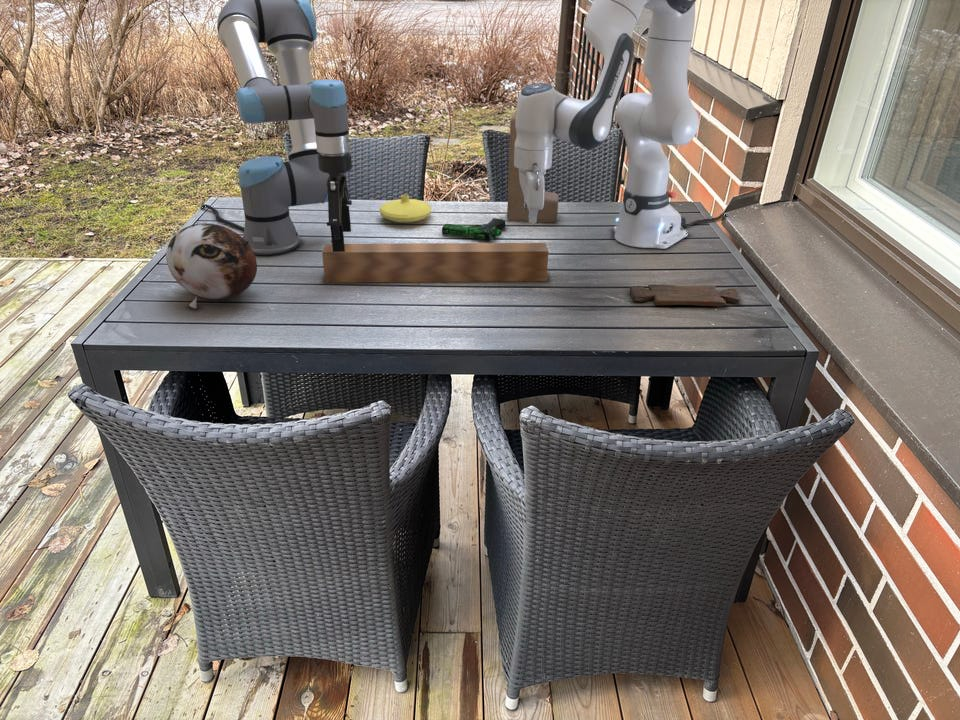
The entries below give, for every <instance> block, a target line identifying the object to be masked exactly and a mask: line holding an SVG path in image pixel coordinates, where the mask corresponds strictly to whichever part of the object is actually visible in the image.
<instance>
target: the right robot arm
mask: <svg viewBox="0 0 960 720" xmlns="http://www.w3.org/2000/svg"><path fill="white" fill-rule="evenodd" d="M696 2H697V0H593V2H592V4H591V6H590V7H589V10H588V11H587V14H586V18H585V21H584V22H585V23H584V33H585V36H586V38H587V40H588V42H589V43H590V45H591V46H592V47H593V48H594V49H595V50H596V51H597V52H598V53H599V54H600V55H602V56H603V67H602V70H601V73H600V76H599V78H598V81H597V84H596V87H595V90H594V93H593V95H592V96H591V97H590V99H589V98H588V100H583V99H579V98H575V97H572V96H568V95H566V94H563V93H561V92H559V91H558V90H556V89H555V88H554V86H553V85H552V84H550V83H547V82H537V83H531V84H528V85H526V86H524V87H523V88H521V90H520V92H519V94H518V97H517V102H516V108H515V113H516V122H515V127H516V131H517V137H516V141H515V148H514V166H515V167H516V168H518V169H519V180H520V185H521V188H522V192H523V195H524V208H525V210H529V216H528V221H527V222H529V224H532V225H533V224H537V214H538V210H542V209H543V206H544V191H545V177H544V175H546V174H547V170H549V169H551V168H552V164H553V149H554V143H553V140H555V139H557V140H560V141H562V142H565V143H569V144H572V145H574V146H576V147H579V148H581V149H582V150H586V151H591V150H595V149H597V148H598V147H600V146H601V145H602V144H604V142H606V140H607V139H608V138H609V136H610V134H611V130H612V127H613V122H614V116H615V121H616V123H617V125H618V127H619V128H620V131H621V132H622V134H623V138H624V141H625V145H626V151H627V159H628V160H627V161H628V162H627V163H628V164H627V176H626V186H625V188H624V189H623V194H622V204H621V205H620V209H619V213H618V217H616V218H615V222H616V225H614V227H613V232H614V235H613V236H614V237H613V238H614V240H616V241H617V242H619V243H620V244H623V245H626V246H630V247H634V248H644V249H646V248H647V249H648V248H650V249H651V248H652V249H661V250H666V249H668V248H670V247H671V246H673V245H674V244H676V243H678V242H680V241H681V240H683V239H684V238H687V237H688V236H689V232H688V231H687V230H686V229H685V228H689V227H692V226H694V225H696V224H699V223H707V222H713V221H718V220H720V219H721V218H723V217H728V216H726V214H725V215H724V213H726V212H722V213H720V215H718V216H715V217H711V218H712V219H709V218H702V219H703V220H700V219H696V220H694V221H692V222H691V223H689V224H686V222H687V221H686V217H685V216H682V215H681V214H680V213H679V212H678V211H677V210H676V209H675V207H673V206H672V205H671V204H670V199H671V200H673V199H675V198H676V196H677V192H676V191H675V190H671V189H669V190H668V185H669V179H670V177H669V176H670V172H671V171H670V170H671V163H670V160H669V158H668V157H667V155H666V154H665V152H664V149H663V146H662V145H665V146H674V147H675V146H678V147H679V146H681V147H683V146H685V145H687V144H689V143H690V142H691V141H692V140H693V139H694V138H695V136H696V135H697V133H698V131H699V126H700V117H699V113H698V111H697V110H696V108H695V106H694V105H693V103H692V100H691V97H690V93H689V86H688V70H689V69H688V68H689V61H690V54H691V48H692V43H693V38H694V32H695V31H694V30H695V22H696ZM644 8H648V9H652V13H651V17H650V21H649V26H648V30H647V37H646V43H645V49H644V55H643V62H642V72H643V75H644V76H645V77H646V78H647V80H648V82H649V86H650V90H651V91H650V92H651V93H648V92H631V93H626V94H625V95H624V96H623V97H621V94H622V92H623V89H624V85H625V83H626V80H627V77H628V75H629V71H630V68H631V66H632V65H631V64H632V62H633V59H634V54H635V42H634V40H633V34H634V30H635V27H636V25H637V23H638V21H639V19H640V17H641V15H642V13H643V11H644ZM620 97H621V99H620ZM667 190H668V191H667ZM669 198H670V199H669ZM684 224H685V225H684ZM680 228H681V229H680ZM684 229H685V230H684ZM686 231H687V232H688V233H687V232H686ZM686 233H687V234H686Z"/></svg>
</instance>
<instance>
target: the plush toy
mask: <svg viewBox="0 0 960 720" xmlns="http://www.w3.org/2000/svg"><path fill="white" fill-rule="evenodd" d="M248 242H249V241H246V240H245V239H244V238H243V236H242V235H240V234H239V233H238V232H236V231H234V230H233V229H231V228H229V227H226V226H223V225H220V224H215V223H205V222H204V223H195V224H191V225H188V226H186V227H183V228H182V229H180V230H179V231H177V232H176V233H175V234H174V235H173V237H171V239H170V241H169V243H168V245H167V248H166V254H165V260H166V265H167V268H168V271H169V273H170V275H171V276H172V277H173V279H174V280H175V281H176V282H177V284H178V285H180V286H181V287H182V288H183V289H185V290H186V291H187V292H189V293H191V294H194V295H195V298H194V299H193V300H192V302H190V303H189V304H188V306H189V307H191V308H192V309H197V308H198V307H197V298H198V297H201V298H205V299H210V300H226V299H230V298H233V297H236V296H238V295H241V294H242V293H244V292H245V291H247V290H248V289H249V288H250V286H251V285H252V284H253V282H254V280H255V278H256V275H257V271H258V262H257V257H256V254H254V252H253V250H252V248H251V247H250V245H249V244H248Z"/></svg>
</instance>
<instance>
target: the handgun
mask: <svg viewBox="0 0 960 720" xmlns="http://www.w3.org/2000/svg"><path fill="white" fill-rule="evenodd" d="M505 228H506V220H505V219H503V218H497V217H492V219H491V220H490V221H489V222H488V223H483V224H482V225H479V224H472V225H459V224H453V223H445V224H443V226H442V227H441V235H446V236H454V237H462V238H469V239H470V238H471V239H474V240H479V241H484V242H491V241H492V240H494V239H495V238H497V237H500V236H502V230H504V229H505Z"/></svg>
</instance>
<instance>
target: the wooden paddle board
mask: <svg viewBox="0 0 960 720" xmlns="http://www.w3.org/2000/svg"><path fill="white" fill-rule="evenodd" d="M629 290H630V296H631V299H632V301H633V302H635V303H643V302H648V301H651V300H654V303H655V305H656V306H703V307H705V306H706V307H707V306H708V307H725V306H726V305H727V302H729V303H735V304H738V303H739V302H740V297H739V294H738V291H737V289H735V288H727V289H721V290H717V289H716V285H675V284H648V285H647V288H645V287H643V286H641V285H631V286H630V287H629Z"/></svg>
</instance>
